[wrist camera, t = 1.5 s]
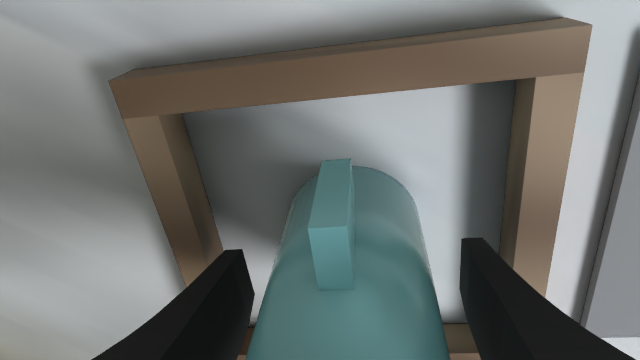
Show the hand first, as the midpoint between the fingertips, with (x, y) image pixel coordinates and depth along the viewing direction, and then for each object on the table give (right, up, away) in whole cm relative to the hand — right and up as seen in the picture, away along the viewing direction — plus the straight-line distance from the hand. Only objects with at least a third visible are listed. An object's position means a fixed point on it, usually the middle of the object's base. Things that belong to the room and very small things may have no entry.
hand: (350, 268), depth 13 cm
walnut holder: (0, +1, +2) cm, 3 cm away
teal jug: (0, +1, +2) cm, 3 cm away
